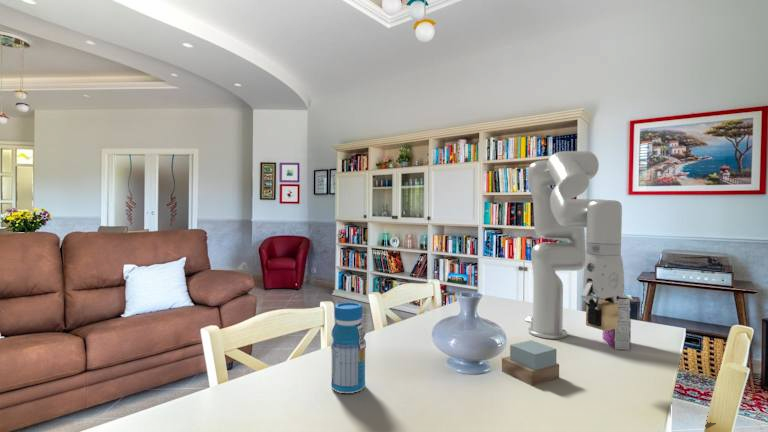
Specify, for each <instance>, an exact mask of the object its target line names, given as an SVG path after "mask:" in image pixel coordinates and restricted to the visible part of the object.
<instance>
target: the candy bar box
mask: <svg viewBox="0 0 768 432" xmlns="http://www.w3.org/2000/svg"><path fill="white" fill-rule="evenodd" d="M602 300H604V299H602ZM631 300H632V298H631V297H629V296H627V295H626V294H625V293H623V294H622V295H620V296H619V299H618V301H617V303H618V328H615V329H611V330H607V331H604V330H602V339H603V340H604V341H605V342H606V343H607V344H608V345H610V347H611V348H612V349H613V350H616V351H631V337H632V336H631V334H632V333H631V328H632V327H631V326H632V325H631V323H632V320H631V319H632V318H631V316H632V313H631V312H632V311H631V307H632V306H631V304H632V301H631Z"/></svg>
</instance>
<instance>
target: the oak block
mask: <svg viewBox="0 0 768 432" xmlns="http://www.w3.org/2000/svg"><path fill="white" fill-rule="evenodd" d="M593 300H594V301H595V303H596V299H593ZM585 304H586V303H585ZM585 306H586V308H585V311H586V312H585V326H587V327H590V328H594V329H598V330H601V331H603V330H604V331H607V330H611V329H615V328H618V303H613V302H609V301H604V300H603V299H602V300H601V305H600V309H599V310H602V317H601V326H595V325H592V324H589V323H588V308H587V304H586V305H585Z"/></svg>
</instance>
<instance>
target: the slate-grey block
mask: <svg viewBox="0 0 768 432" xmlns="http://www.w3.org/2000/svg"><path fill="white" fill-rule="evenodd" d="M557 352H558V351H557V348H554V347H552V346H549V345H547V344H543V343H540V342H538V341H535V340H532V339H530V340H526V341H521V342H517V343H512V344H510V345H509V356H510V360H511V361H514V362H516V363H518V364H521V365H523V366H525V367H528V368H530V369H532V370H539V369H542V368H546V367H549V366H553V365H556V363H557Z"/></svg>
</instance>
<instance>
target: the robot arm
mask: <svg viewBox="0 0 768 432" xmlns="http://www.w3.org/2000/svg"><path fill="white" fill-rule="evenodd" d="M599 166H600V164H599V159H598V158H597V156H596V155H595V153H593V152H592V151H588V150H580V151H579V150H573V151H572V150H568V151H567V150H565V151H557V152H555V153H553V154H551V155H550V157H549V158H548V160H545V159H544V160H537V161H534V162H532V163H530V164H529V166H528V168H527V172H526V173H527V174H526V175H527V176H526V179H527V185H528V188H529V191H530V194H531V199H532V203H533V222H534V226H533V227H534V233H535V235H536V237H538V238H540V239H545V240H546V239H547V240H548V239H549V240H566V241H567V242H540V243H537V244H535V245H534V246H532V248H531V249H530V250H531V251H530V260H531V264H532V274H533V275H532V276H533V280H532V281H533V285H532V288H533V293H532V294H533V295H532V296H533V298H532V299H533V300H532V301H533V302H532V303H533V304H532V309H533V310H532V312H533V313H532V315H528V316H527V318H525V320H524V321H525V323H527V324H528V323H529V324H530V326H528V329H527V330H528V333H529V334H531V335H532V336H534V337H538V338H542V339H550V340H557V339H558V340H559V339H564V338H565V339H566V338H567V337H568V331H567V330H565V329H564V328H563V326H564V325H563V323H564V321H563V320H564V319H563V315H564V314H563V313H564V312H563V310H564V284H563V281H562V279H561V278H560V276H558V275H557V273H556V271H557V272H559V271H563V272H564V271H567V272H568V271H569V272H570V271H571V272H572V271H573V272H575V271H581V270H583V278H582V287H583V288H582V289H583V291H582V293H581V296H580V297H581V299H582V300H583V301H584V303H585V304H587V308H588V323H589V324H592V325H595V326H601V317H602V310H599V309H600V305H601V300H603V299H604V301H609V302H613V303H617V301H618V299H619V296H620V295H622V294H625V272H624V262H623V258H622V227H623V226H622V225H623V223H622V221H623V217H622V216H623V206H622V203H621V202H620V201H618V200H614V199H611V200H610V199H598V198H597V199H595V198H593V199H590V198H586V199H585V198H583V199H581V198H576V197H578V196H580V195H583V193H584V192H585V191H586V190H587V189H588V188H589V186H590V185H589V184H590V180H591V179H593V178H595V176H596V175H597V174H598V171H599ZM550 186H554V187H553V188H552V187H550ZM574 198H575V199H574ZM585 228H586V233H585ZM585 235H586V236H585ZM594 300H596V303H595V301H594Z"/></svg>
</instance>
